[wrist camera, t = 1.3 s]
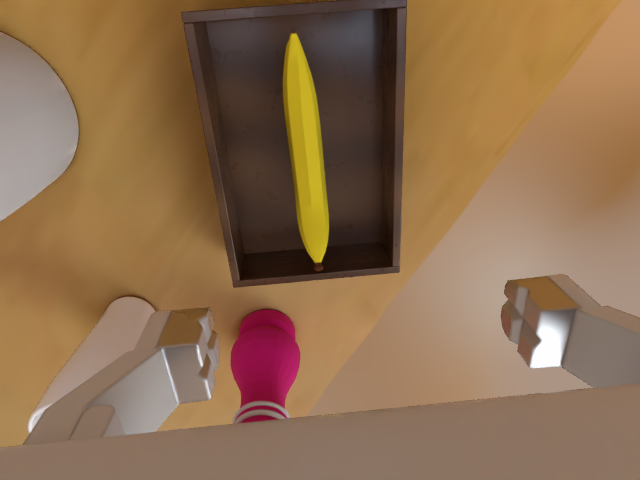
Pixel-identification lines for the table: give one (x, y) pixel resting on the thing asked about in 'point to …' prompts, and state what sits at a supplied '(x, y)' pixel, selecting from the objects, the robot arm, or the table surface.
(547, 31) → the table surface
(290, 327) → the pepper mill
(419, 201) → the table surface
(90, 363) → the drinking glass
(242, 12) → the tray
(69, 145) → the utensil holder
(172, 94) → the table surface
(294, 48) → the banana
